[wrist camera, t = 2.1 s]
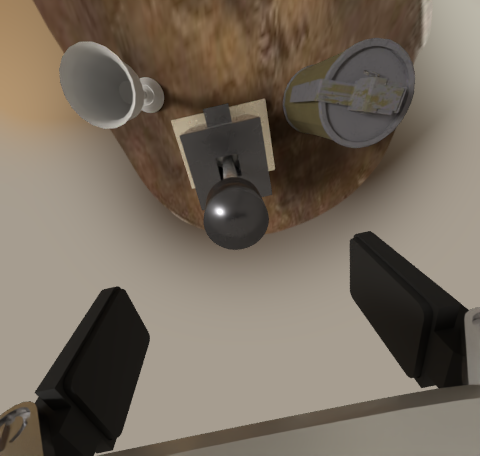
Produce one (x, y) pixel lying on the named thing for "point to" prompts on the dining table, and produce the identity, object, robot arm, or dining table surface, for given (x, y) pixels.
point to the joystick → (226, 145)
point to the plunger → (234, 208)
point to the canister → (352, 94)
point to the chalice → (105, 86)
